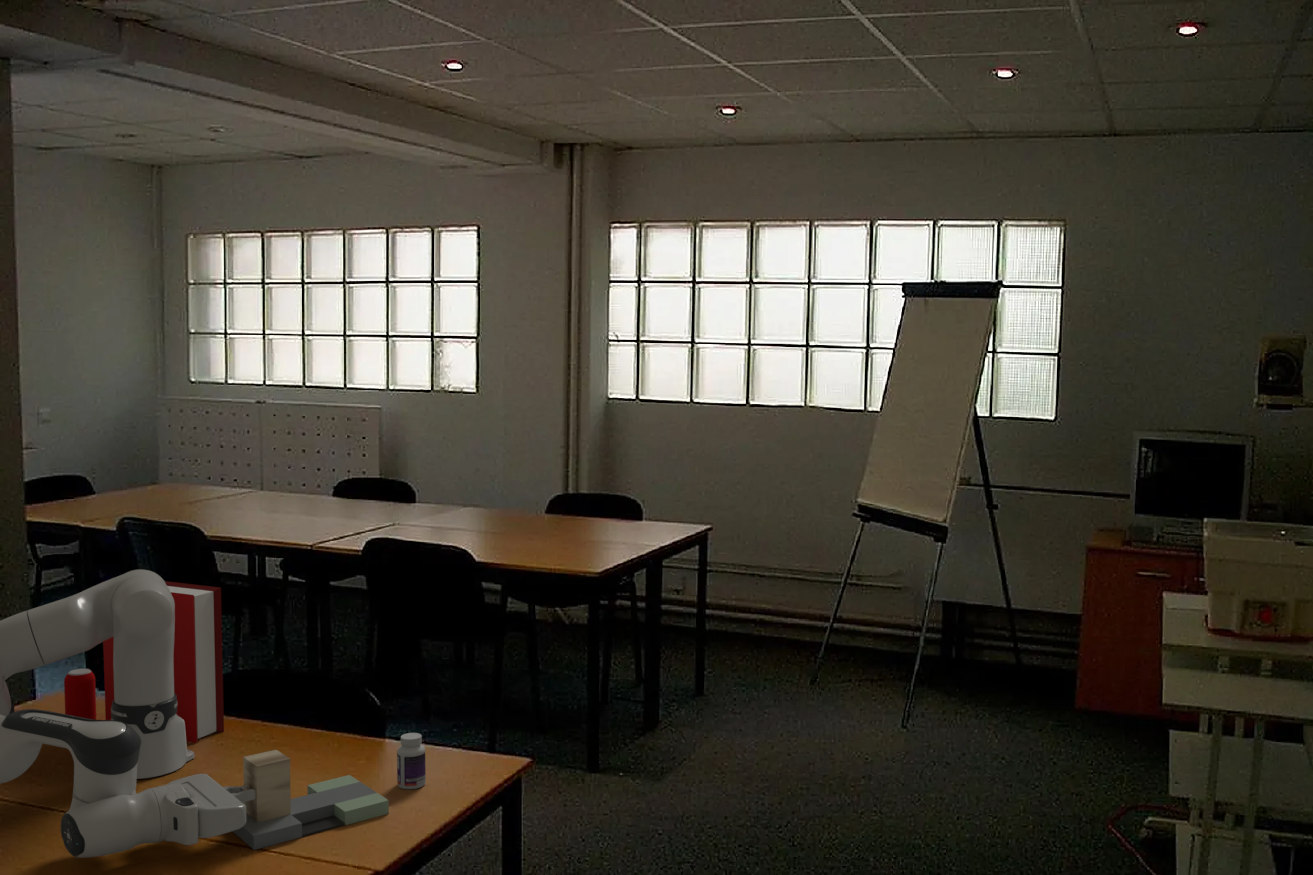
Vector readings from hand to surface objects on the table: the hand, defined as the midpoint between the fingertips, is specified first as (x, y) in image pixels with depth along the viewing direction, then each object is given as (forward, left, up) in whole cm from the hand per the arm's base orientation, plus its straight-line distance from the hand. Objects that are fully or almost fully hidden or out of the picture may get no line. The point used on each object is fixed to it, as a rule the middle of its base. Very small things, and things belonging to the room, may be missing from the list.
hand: (252, 791), depth 209 cm
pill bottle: (-3, +33, -8) cm, 33 cm away
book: (-66, +6, -8) cm, 67 cm away
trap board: (-1, +10, -8) cm, 12 cm away
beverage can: (-80, -7, -8) cm, 81 cm away
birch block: (-1, +3, -5) cm, 6 cm away
